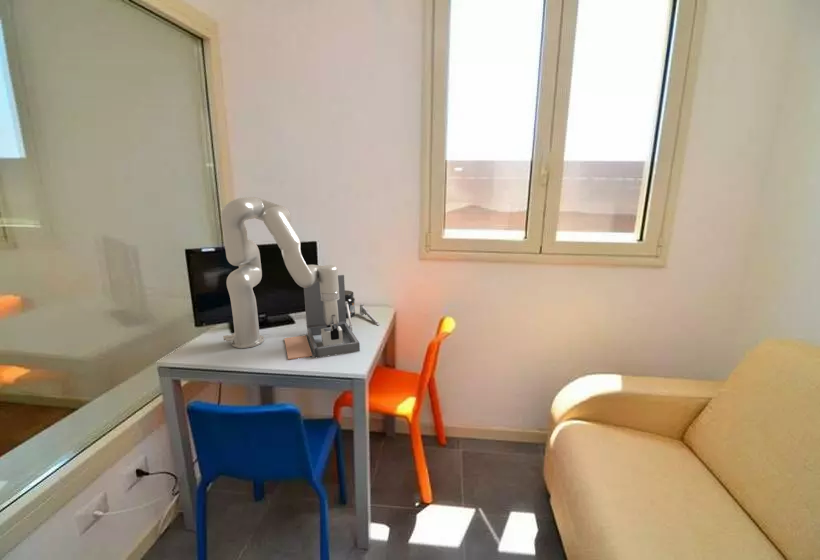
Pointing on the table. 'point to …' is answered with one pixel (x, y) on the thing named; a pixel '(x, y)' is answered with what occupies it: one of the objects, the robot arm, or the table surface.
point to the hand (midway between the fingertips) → (333, 335)
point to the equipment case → (317, 321)
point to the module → (327, 337)
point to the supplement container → (350, 303)
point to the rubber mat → (297, 347)
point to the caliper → (365, 311)
